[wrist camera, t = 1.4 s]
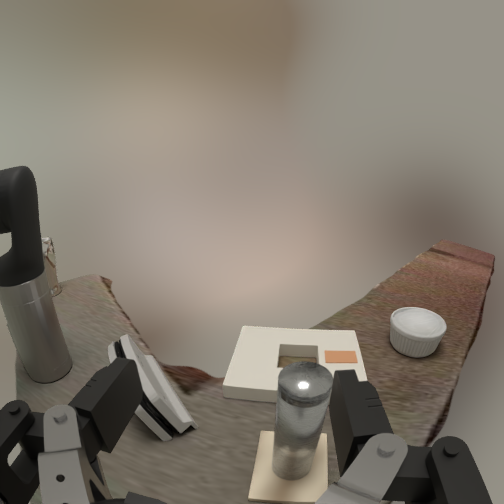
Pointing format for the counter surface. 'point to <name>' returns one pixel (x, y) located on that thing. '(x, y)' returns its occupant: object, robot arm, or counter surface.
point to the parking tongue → (287, 491)
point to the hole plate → (285, 344)
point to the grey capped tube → (299, 417)
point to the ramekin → (416, 331)
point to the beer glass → (50, 265)
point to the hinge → (154, 392)
